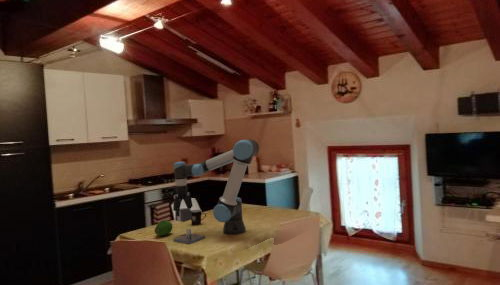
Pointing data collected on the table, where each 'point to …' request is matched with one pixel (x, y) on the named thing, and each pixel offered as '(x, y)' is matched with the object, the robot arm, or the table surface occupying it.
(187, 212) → the grey block
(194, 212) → the coffee mug
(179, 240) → the grey peg base
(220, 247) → the table surface
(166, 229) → the fruit
